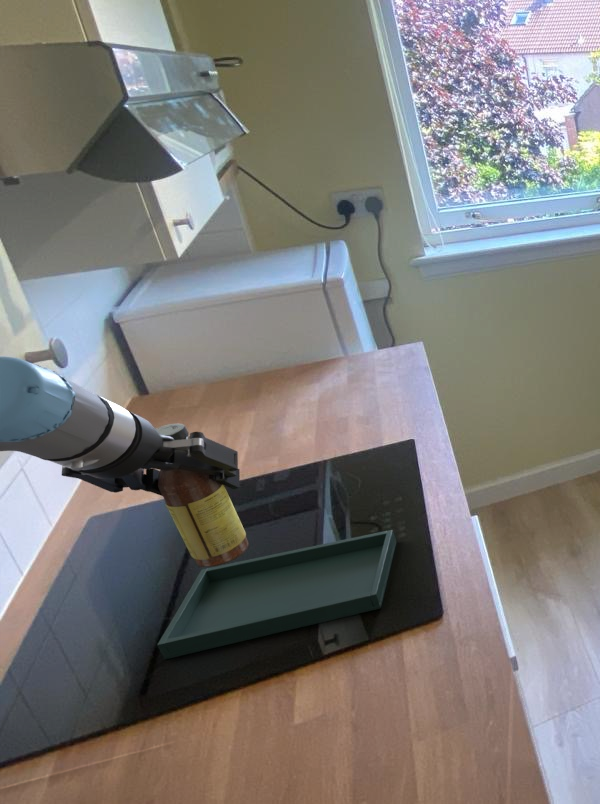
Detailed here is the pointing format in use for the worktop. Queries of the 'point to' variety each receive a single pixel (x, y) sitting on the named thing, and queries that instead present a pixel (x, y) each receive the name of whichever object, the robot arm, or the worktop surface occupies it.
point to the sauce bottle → (201, 511)
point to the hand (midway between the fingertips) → (207, 484)
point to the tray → (281, 593)
